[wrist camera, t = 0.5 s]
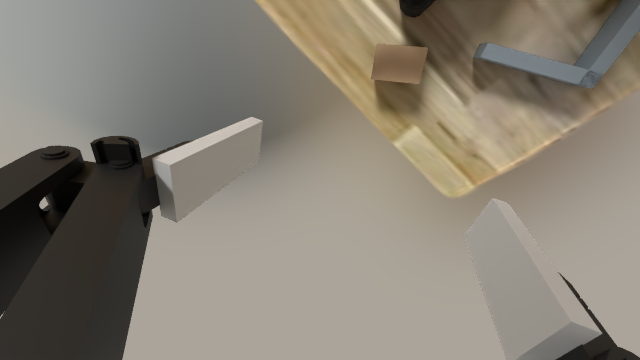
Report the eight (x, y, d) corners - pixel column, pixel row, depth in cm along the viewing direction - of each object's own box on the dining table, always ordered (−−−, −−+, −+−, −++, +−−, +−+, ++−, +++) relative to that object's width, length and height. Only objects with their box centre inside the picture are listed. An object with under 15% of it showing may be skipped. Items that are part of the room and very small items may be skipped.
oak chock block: (379, 45, 32) (376, 43, 29) (425, 48, 31) (428, 47, 27) (373, 77, 34) (371, 79, 31) (417, 81, 33) (419, 84, 29)
